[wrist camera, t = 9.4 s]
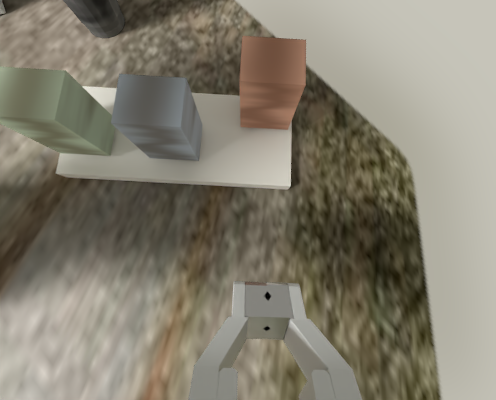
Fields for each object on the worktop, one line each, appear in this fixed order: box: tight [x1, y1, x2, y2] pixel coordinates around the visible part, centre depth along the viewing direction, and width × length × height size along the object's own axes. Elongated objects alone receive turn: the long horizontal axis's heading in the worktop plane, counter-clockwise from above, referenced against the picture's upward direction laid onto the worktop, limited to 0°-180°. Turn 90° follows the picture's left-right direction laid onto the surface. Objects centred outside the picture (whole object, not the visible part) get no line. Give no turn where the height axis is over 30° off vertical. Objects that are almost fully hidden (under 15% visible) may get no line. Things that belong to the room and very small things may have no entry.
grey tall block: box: [111, 74, 202, 161], centre depth 20 cm, size 5×4×7 cm
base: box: [56, 86, 292, 190], centre depth 25 cm, size 24×10×2 cm, turn 87°
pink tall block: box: [239, 36, 306, 130], centre depth 21 cm, size 5×4×7 cm
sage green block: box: [0, 67, 115, 156], centre depth 20 cm, size 5×4×7 cm
